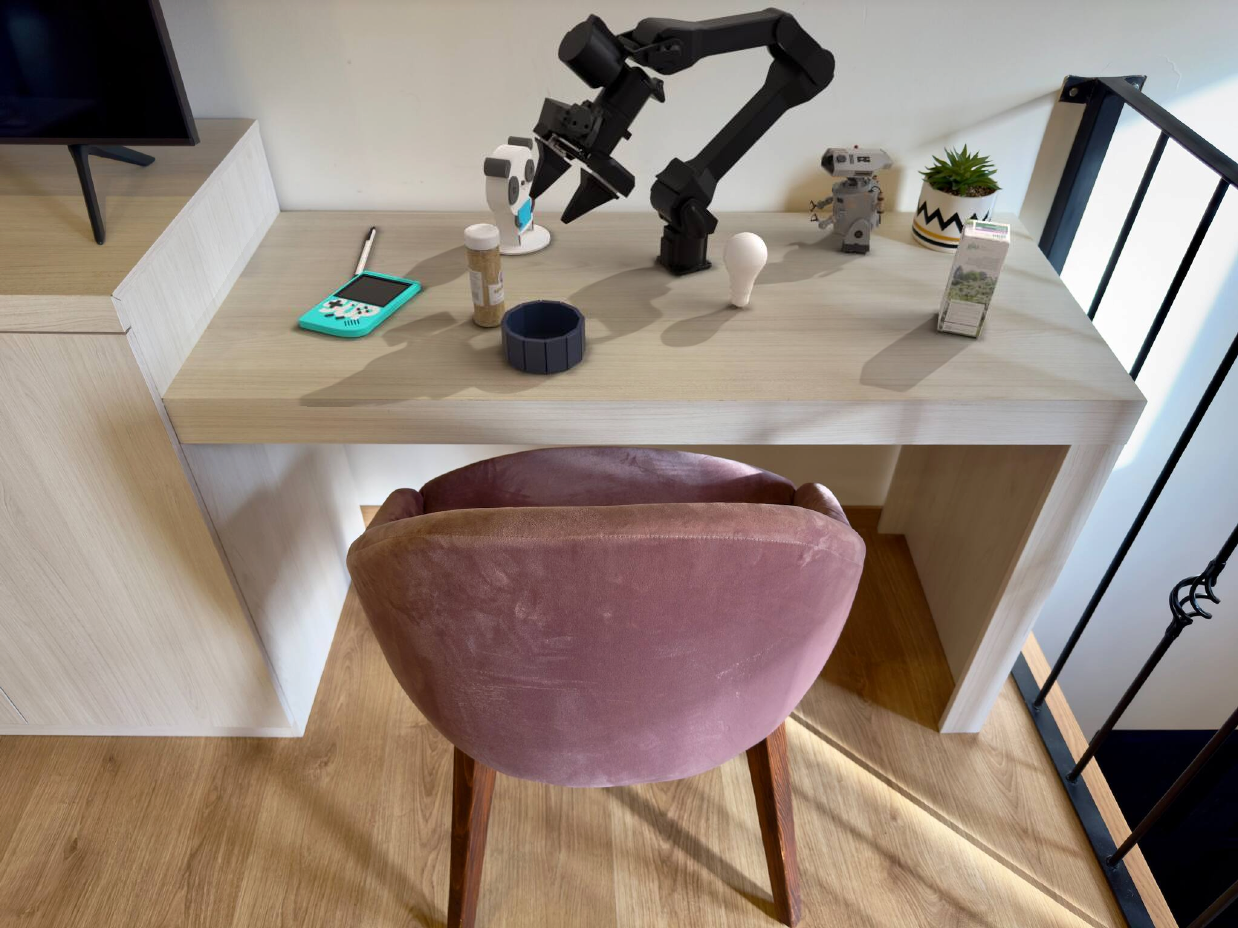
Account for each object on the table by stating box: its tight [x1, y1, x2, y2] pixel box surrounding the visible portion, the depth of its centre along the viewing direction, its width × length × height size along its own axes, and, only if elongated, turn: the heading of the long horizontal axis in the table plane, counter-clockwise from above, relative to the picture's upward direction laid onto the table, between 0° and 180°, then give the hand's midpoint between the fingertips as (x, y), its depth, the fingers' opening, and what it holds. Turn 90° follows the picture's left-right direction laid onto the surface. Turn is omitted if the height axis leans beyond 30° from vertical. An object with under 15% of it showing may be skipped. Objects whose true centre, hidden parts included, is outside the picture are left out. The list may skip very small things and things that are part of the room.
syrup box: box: [936, 218, 1011, 338], centre depth 115 cm, size 6×6×14 cm
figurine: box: [809, 144, 894, 255], centre depth 136 cm, size 9×12×15 cm
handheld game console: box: [297, 270, 422, 338], centre depth 122 cm, size 10×16×1 cm, turn 158°
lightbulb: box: [722, 231, 768, 308], centre depth 120 cm, size 6×6×11 cm
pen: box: [353, 226, 377, 278], centre depth 135 cm, size 1×19×1 cm, turn 4°
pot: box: [500, 299, 586, 375], centre depth 112 cm, size 11×11×5 cm
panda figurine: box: [483, 135, 551, 256], centre depth 135 cm, size 12×11×15 cm
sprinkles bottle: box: [463, 223, 506, 328], centre depth 115 cm, size 5×5×14 cm
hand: (546, 210), depth 116 cm, fingers open, 9 cm apart
